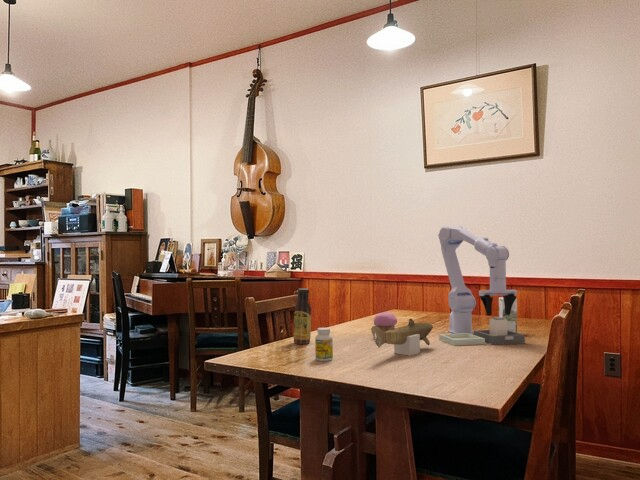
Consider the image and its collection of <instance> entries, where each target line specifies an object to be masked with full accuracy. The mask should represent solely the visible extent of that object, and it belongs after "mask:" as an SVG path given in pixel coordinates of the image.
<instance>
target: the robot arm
mask: <svg viewBox="0 0 640 480" xmlns="http://www.w3.org/2000/svg"><path fill="white" fill-rule="evenodd" d="M437 236H438V239H439V243H440V250H441V255H442V257H443V261H444V266H445V269H446V272H447V276H448V280H449V283H450V287H451V290H450V291H449V293H448V294H447V296H448V307H449V308H450V309H451V312H450V314H449V318H448V319H449V329H447V332H449V333H451V334H459V333H469V334H472V335H474V331H473V330H472V329H473V328H472V327H473V326H472V324H473V323H472V321H473V320H472V319H473V318H472V312H473V311H474V309H475V307H476V304H477V303H476V302H477V301H476V298H475V296H474V295H473V293H472V290H470V288H468V287H467V286H466V283H465V281H464V277H463V273H462V270H461V267H460V263H459V259H458V255H457V251H456V250H457V249H458V248H459V247H460V246H461V244H462V243H463V242H466V243H469V244H470V245H472V246H473V247H474V250H475V251H477V252H478V253H480V254H481V255H483V256H484V257H485V258H486V260H487V264H488V266H489V289H486V290H485V289H484V290H483V289H482V290H478V296H479V298H480V300H481V302H482V304H483V306H484V309H485V312H486V316H489V317H490V316H492V314H493V313H492V308H493V307H492V306H493V305H492V304H493V300H494V298H493V297H494V296H502V297H503V299H504V305H505V314H506V315H510V312H511V308H512V305H513V303H514V301H515V300H516V299H517V296H518V295H517V294H518V290H517V289H507V270H506V269H507V264H506V263H507V260H509V258H510V252H509V251H510V250H509V249H508V248H507V247H506V246H505V245H500V246H499V245H498V243H496V242H492V241H491V240H489V238H488V237H479V236H476V235H475V234H473V233H472V232H470V231H469V230H467V228H464V227H463V226H446V225H444V226H442V227H441V228H440V230H439V232H438V234H437ZM491 296H493V297H491Z"/></svg>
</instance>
